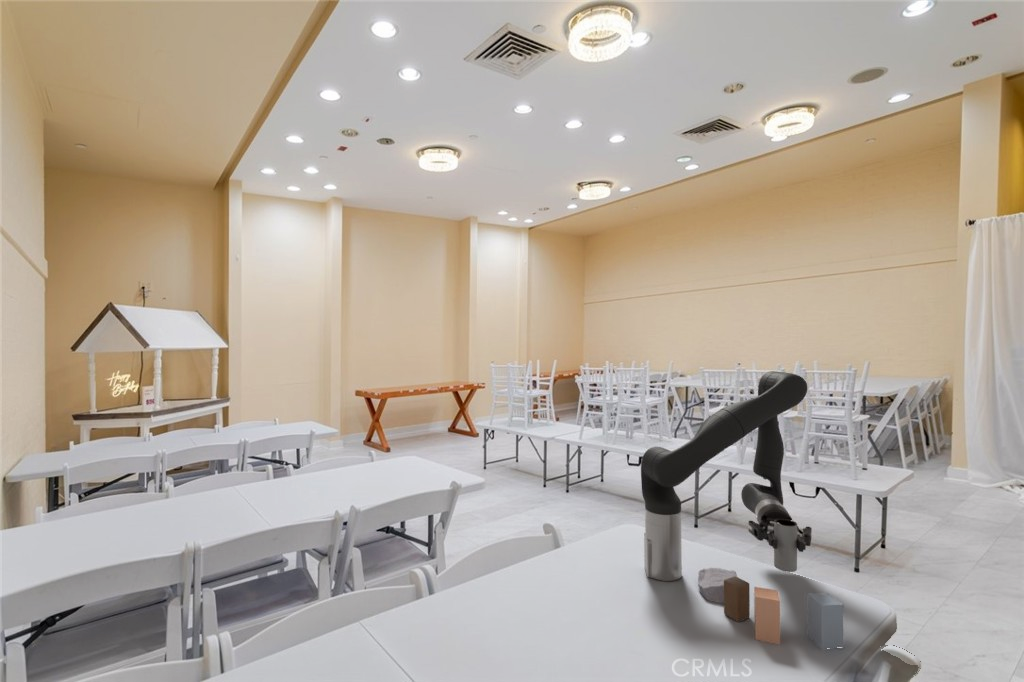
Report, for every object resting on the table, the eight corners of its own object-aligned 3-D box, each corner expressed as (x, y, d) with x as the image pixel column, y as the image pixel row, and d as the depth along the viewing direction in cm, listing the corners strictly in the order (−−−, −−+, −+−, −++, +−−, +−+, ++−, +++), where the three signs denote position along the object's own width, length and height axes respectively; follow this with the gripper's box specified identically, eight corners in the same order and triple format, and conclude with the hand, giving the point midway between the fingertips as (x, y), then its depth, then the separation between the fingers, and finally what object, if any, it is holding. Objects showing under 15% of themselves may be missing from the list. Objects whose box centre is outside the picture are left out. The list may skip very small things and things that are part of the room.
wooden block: (738, 623, 111) (738, 587, 111) (723, 614, 115) (722, 579, 114) (750, 618, 113) (750, 582, 113) (735, 609, 116) (734, 575, 116)
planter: (794, 564, 114) (795, 519, 114) (798, 573, 110) (799, 527, 110) (772, 561, 116) (772, 517, 116) (775, 570, 112) (776, 524, 111)
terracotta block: (755, 639, 105) (755, 596, 105) (754, 627, 109) (754, 586, 109) (780, 644, 103) (779, 600, 103) (777, 632, 107) (777, 590, 107)
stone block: (704, 609, 120) (748, 605, 118) (699, 588, 121) (743, 584, 118) (697, 586, 132) (737, 582, 130) (693, 567, 132) (732, 563, 130)
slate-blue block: (821, 649, 101) (821, 605, 101) (807, 636, 106) (807, 593, 106) (843, 648, 102) (843, 604, 101) (828, 635, 106) (828, 593, 106)
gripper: (742, 500, 129) (752, 525, 112) (805, 506, 124) (825, 532, 108) (742, 529, 129) (752, 558, 113) (805, 536, 125) (825, 567, 108)
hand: (788, 545), depth 110 cm, fingers closed on planter, 4 cm apart
